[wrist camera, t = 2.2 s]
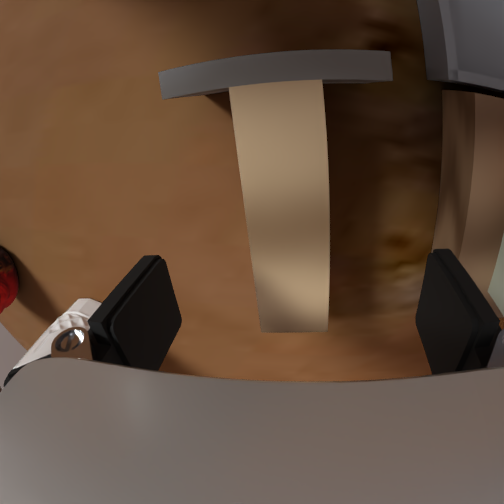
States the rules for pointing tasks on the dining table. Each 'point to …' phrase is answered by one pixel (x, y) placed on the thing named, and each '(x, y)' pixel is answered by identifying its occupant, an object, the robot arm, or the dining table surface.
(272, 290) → the scraper
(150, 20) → the dining table surface
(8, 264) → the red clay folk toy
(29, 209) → the dining table surface
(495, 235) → the wooden block
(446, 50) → the tray
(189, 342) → the dining table surface
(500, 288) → the tile sage
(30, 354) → the white cup
